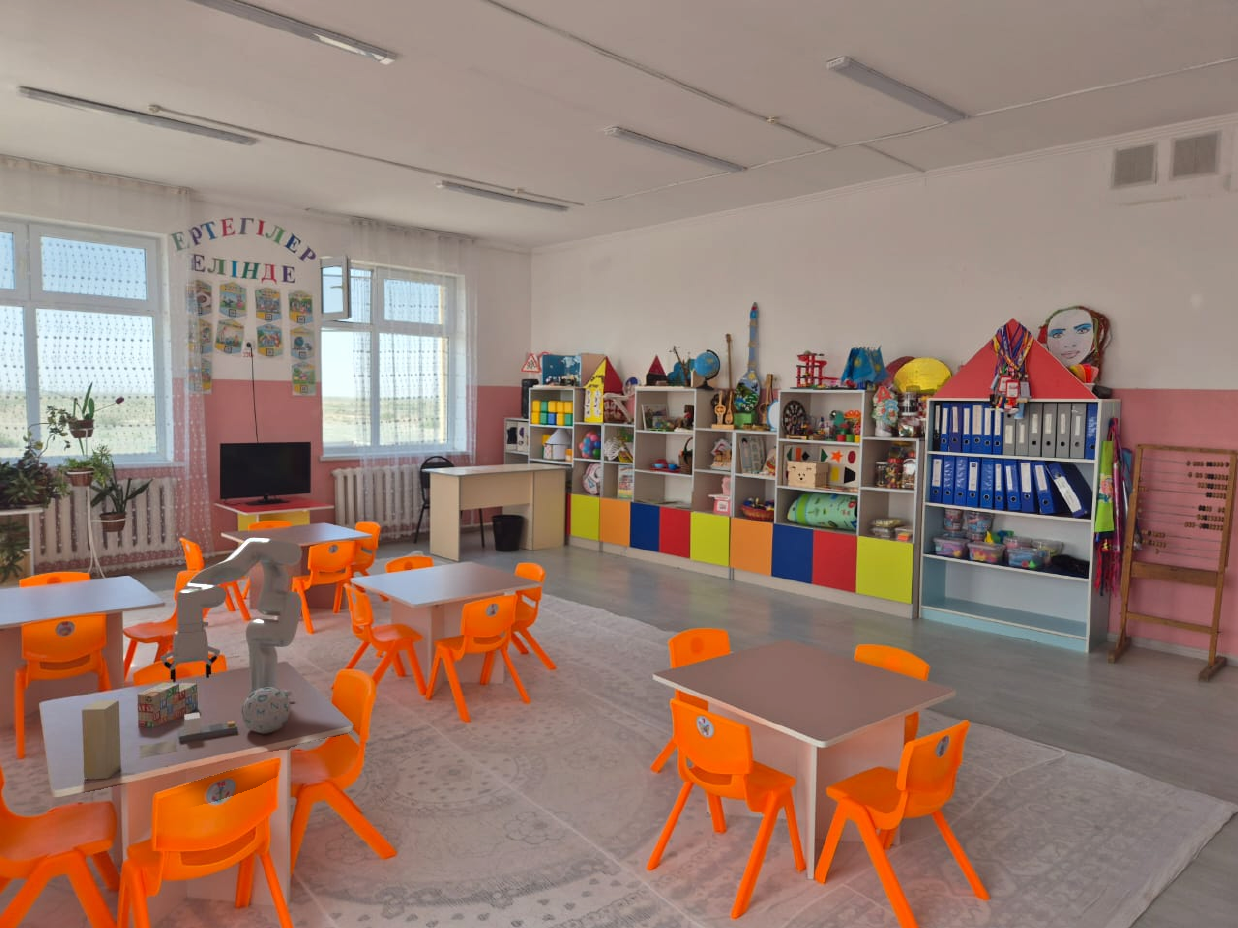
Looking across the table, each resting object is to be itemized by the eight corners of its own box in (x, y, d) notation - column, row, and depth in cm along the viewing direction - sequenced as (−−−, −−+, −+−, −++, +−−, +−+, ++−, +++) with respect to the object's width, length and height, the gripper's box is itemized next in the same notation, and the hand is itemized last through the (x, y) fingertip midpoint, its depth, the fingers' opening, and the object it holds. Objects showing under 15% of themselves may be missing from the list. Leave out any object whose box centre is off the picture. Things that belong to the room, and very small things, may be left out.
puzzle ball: (292, 735, 275) (291, 691, 274) (242, 743, 269) (242, 698, 268) (288, 720, 289) (288, 678, 288) (241, 727, 282) (240, 684, 281)
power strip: (235, 729, 280) (234, 718, 280) (237, 735, 275) (236, 724, 275) (178, 739, 271) (178, 727, 271) (179, 745, 266) (179, 734, 266)
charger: (199, 732, 274) (199, 712, 274) (200, 738, 270) (200, 717, 269) (184, 735, 272) (184, 714, 272) (185, 741, 267) (185, 720, 267)
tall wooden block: (95, 768, 249) (94, 700, 248) (121, 767, 250) (119, 699, 248) (81, 780, 241) (79, 709, 240) (107, 779, 242) (105, 709, 240)
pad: (175, 742, 268) (175, 739, 268) (176, 754, 260) (176, 750, 260) (139, 748, 263) (139, 745, 263) (140, 760, 255) (140, 757, 255)
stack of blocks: (183, 707, 301) (182, 674, 300) (198, 708, 299) (197, 675, 299) (137, 729, 280) (137, 693, 279) (153, 730, 278) (153, 695, 278)
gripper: (218, 621, 276) (219, 671, 277) (159, 627, 267) (160, 679, 268) (220, 626, 270) (221, 678, 271) (160, 633, 261) (161, 686, 262)
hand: (191, 678), depth 270 cm, fingers open, 9 cm apart
